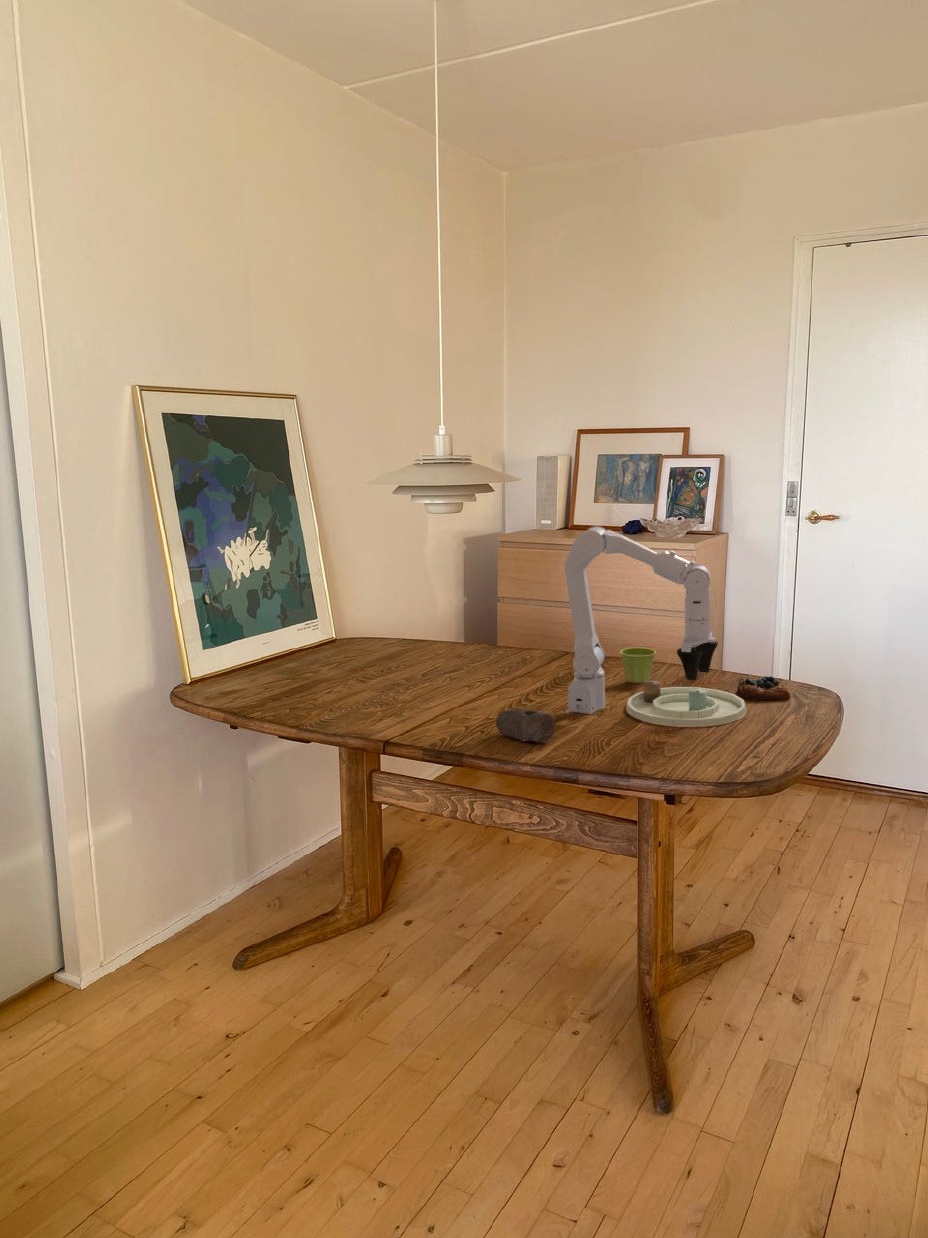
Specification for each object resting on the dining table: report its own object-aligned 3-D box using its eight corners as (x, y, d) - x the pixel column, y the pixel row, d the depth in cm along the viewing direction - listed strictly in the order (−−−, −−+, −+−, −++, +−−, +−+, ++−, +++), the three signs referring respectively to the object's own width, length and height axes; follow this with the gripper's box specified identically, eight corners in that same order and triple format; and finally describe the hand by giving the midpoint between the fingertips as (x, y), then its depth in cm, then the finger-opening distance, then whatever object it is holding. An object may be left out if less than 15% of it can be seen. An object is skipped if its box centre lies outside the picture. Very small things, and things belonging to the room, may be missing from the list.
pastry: (732, 694, 235) (732, 671, 234) (780, 692, 234) (781, 669, 233) (744, 707, 224) (744, 683, 223) (794, 705, 223) (795, 681, 222)
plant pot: (654, 678, 252) (654, 646, 250) (658, 687, 243) (657, 655, 241) (619, 679, 253) (618, 647, 252) (621, 688, 244) (621, 656, 242)
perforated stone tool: (489, 736, 211) (488, 707, 210) (504, 730, 215) (503, 701, 213) (542, 749, 201) (541, 718, 200) (557, 742, 205) (556, 712, 203)
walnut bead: (656, 703, 226) (656, 685, 225) (641, 701, 228) (640, 683, 227) (663, 699, 229) (663, 681, 228) (648, 697, 231) (647, 679, 230)
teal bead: (702, 713, 216) (702, 694, 215) (686, 711, 219) (686, 692, 218) (709, 709, 219) (709, 690, 219) (692, 706, 222) (692, 688, 221)
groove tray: (721, 738, 202) (721, 726, 202) (606, 720, 218) (605, 710, 217) (762, 704, 224) (763, 694, 223) (655, 691, 240) (655, 681, 239)
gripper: (702, 625, 207) (702, 685, 209) (725, 613, 218) (725, 670, 221) (672, 623, 211) (672, 681, 213) (696, 611, 222) (697, 667, 225)
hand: (697, 675), depth 217 cm, fingers open, 7 cm apart
